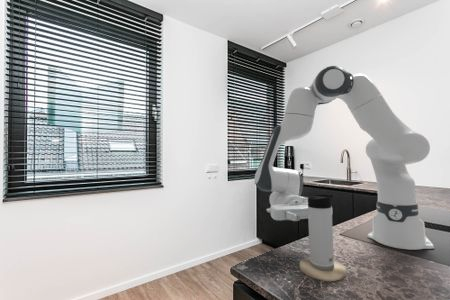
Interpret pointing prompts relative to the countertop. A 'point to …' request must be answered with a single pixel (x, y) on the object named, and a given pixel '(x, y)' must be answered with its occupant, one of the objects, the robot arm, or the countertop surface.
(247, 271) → the countertop surface
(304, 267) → the gold round coaster
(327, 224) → the travel mug
